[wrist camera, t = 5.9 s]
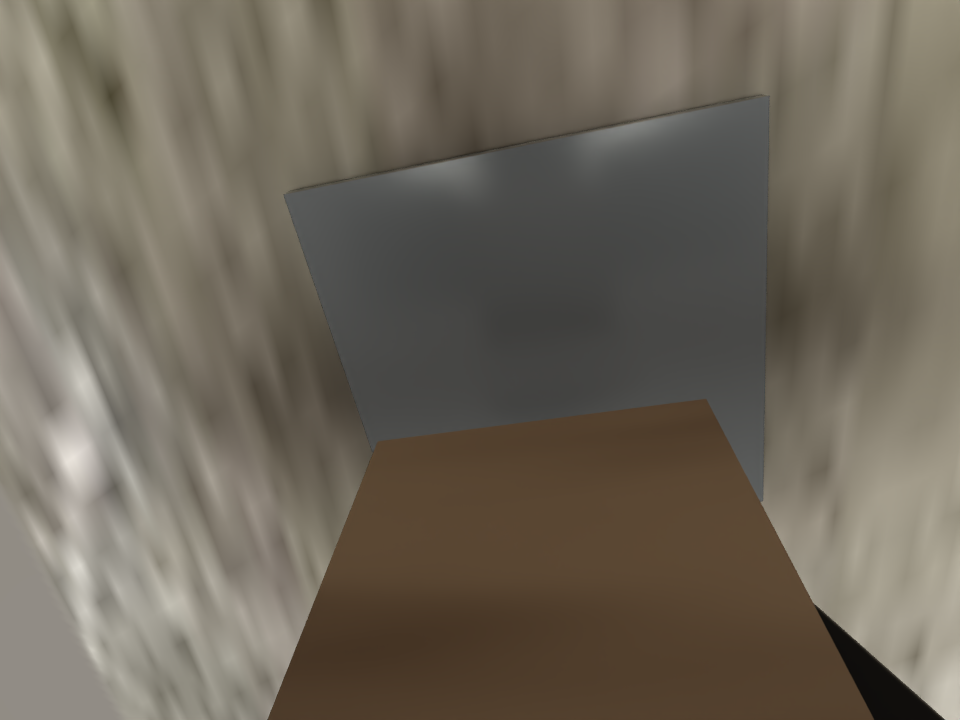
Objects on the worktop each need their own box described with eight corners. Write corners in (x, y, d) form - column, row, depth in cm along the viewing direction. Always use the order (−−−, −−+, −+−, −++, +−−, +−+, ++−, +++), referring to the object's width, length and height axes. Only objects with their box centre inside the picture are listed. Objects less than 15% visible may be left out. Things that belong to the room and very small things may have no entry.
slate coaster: (757, 491, 16) (762, 501, 16) (404, 527, 17) (402, 538, 17) (762, 94, 11) (769, 95, 11) (290, 190, 13) (283, 194, 13)
